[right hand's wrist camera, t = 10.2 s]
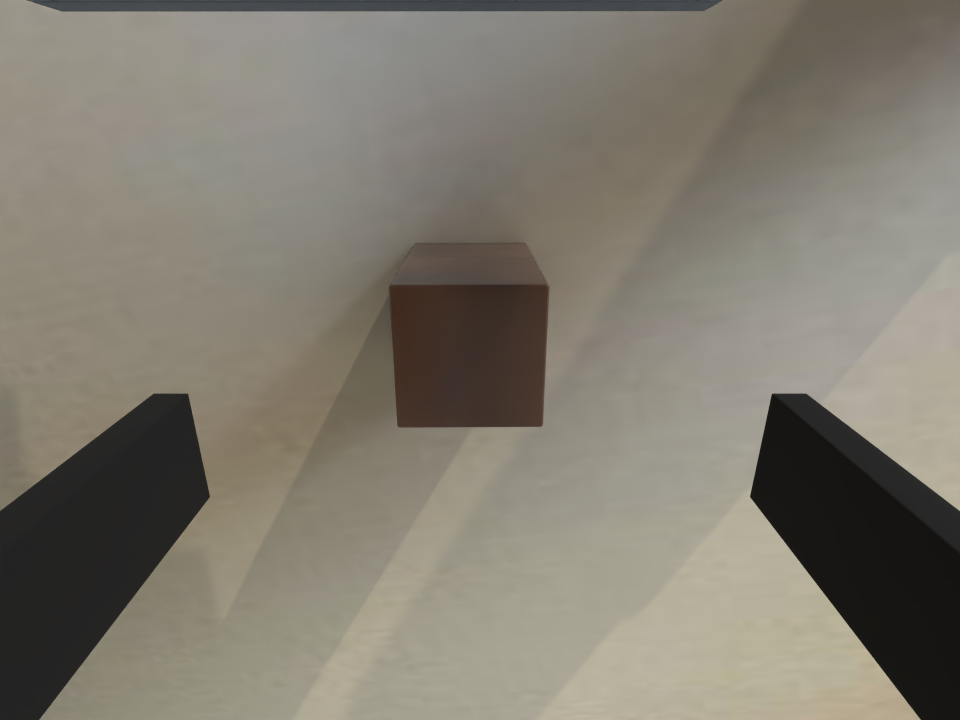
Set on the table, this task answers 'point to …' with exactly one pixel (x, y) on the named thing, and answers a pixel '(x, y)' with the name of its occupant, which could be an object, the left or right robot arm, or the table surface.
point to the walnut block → (469, 336)
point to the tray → (378, 5)
